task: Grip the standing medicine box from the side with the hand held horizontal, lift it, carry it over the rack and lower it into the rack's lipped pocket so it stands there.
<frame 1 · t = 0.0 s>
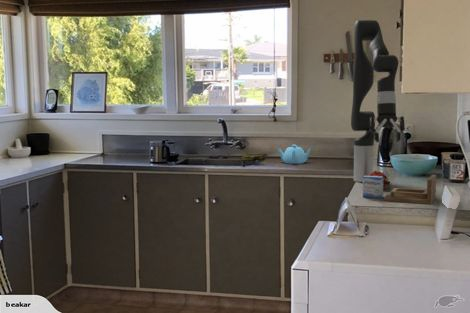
hand: (387, 141, 253), 22 cm above the counter, tool pointing down, fingers open, 8 cm apart
medicine box: (372, 197, 252), on the counter
dragon fruit: (378, 189, 271), on the counter
teapot: (294, 163, 359), on the counter
rack: (410, 199, 246), on the counter
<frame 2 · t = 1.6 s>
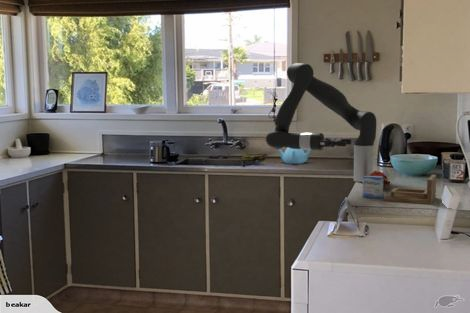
hand: (348, 142, 256), 22 cm above the counter, tool horizontal, fingers open, 8 cm apart
nothing on the counter moved.
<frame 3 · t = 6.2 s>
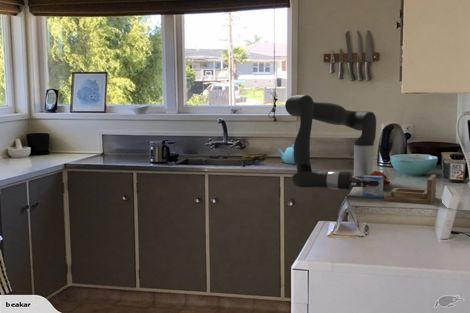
hand: (379, 182, 250), 6 cm above the counter, tool horizontal, fingers closed on medicine box, 4 cm apart
medicine box: (372, 197, 252), on the counter, touching gripper
everything else where it was.
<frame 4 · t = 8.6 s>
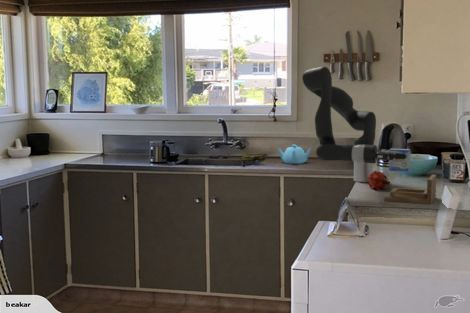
hand: (406, 155, 244), 18 cm above the counter, tool horizontal, fingers closed on medicine box, 4 cm apart
medicine box: (399, 170, 246), point 11 cm above the counter, touching gripper
everything else where it was.
when the fingers open (9 cm above the counter, at t = 11.0 s): medicine box drops 1 cm, resting on rack.
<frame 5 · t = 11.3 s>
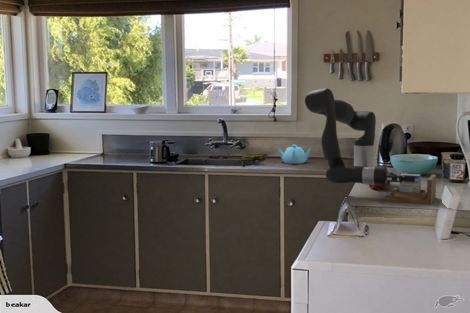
hand: (416, 177, 244), 9 cm above the counter, tool horizontal, fingers open, 7 cm apart
medicine box: (409, 196, 245), point 1 cm above the counter, touching rack
everything else where it was.
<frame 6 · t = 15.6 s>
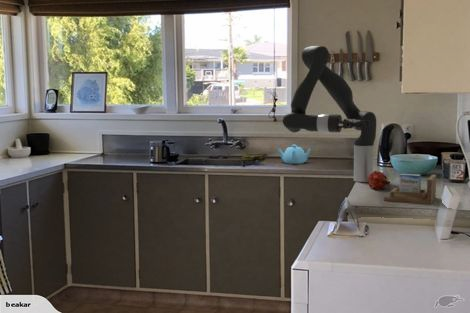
hand: (367, 124, 251), 30 cm above the counter, tool horizontal, fingers open, 8 cm apart
nothing on the counter moved.
at the end: medicine box inside the target area on the rack (0.1 cm from its centre), point 1.3 cm above the rack's base; medicine box tilted 0°; the gripper is holding nothing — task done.
